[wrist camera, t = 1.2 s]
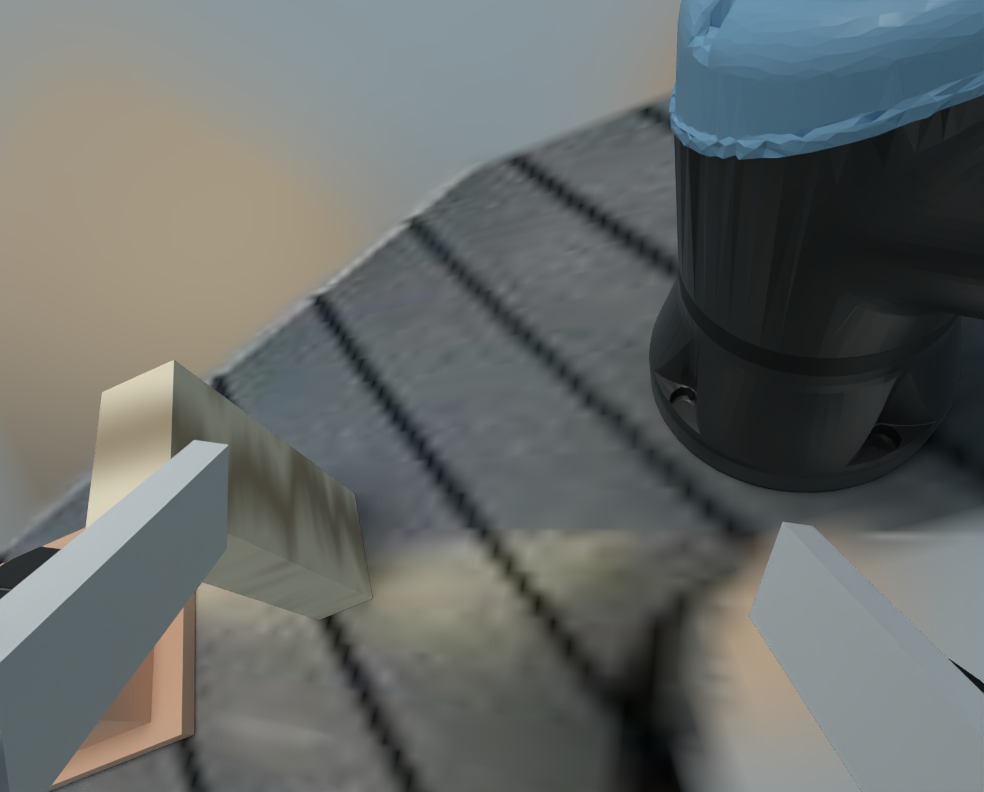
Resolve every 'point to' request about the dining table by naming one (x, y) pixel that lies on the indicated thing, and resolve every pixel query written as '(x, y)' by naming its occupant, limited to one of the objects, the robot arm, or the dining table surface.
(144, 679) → the pink slotted socket
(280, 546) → the mottled beige block
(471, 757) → the dining table surface
